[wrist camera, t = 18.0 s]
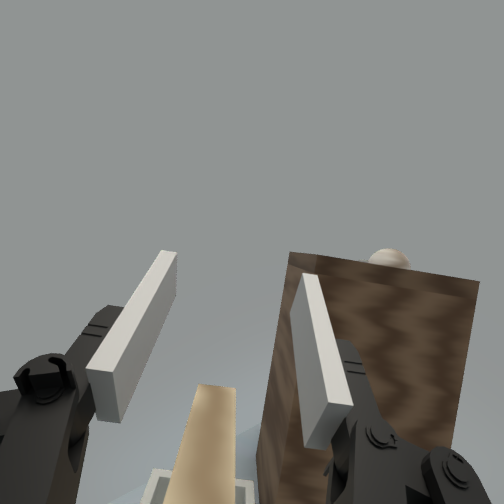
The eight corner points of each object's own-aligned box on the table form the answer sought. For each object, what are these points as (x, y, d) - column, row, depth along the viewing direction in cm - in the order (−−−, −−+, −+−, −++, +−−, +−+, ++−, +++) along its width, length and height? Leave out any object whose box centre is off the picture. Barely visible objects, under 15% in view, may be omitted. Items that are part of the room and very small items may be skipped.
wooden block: (264, 570, 29) (322, 226, 29) (255, 456, 45) (292, 233, 45) (426, 587, 30) (484, 253, 30) (361, 469, 46) (399, 251, 46)
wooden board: (41, 993, 7) (69, 815, 7) (193, 421, 30) (198, 383, 30) (209, 993, 7) (233, 821, 7) (230, 425, 30) (235, 388, 30)
